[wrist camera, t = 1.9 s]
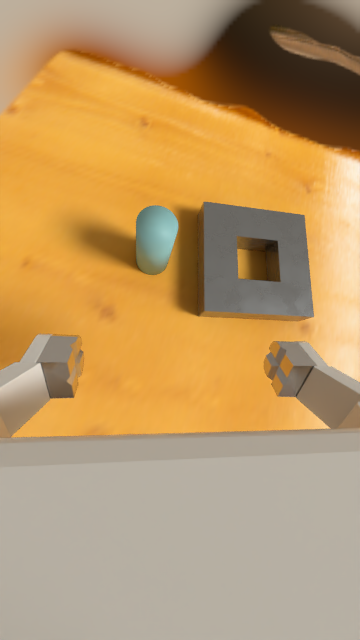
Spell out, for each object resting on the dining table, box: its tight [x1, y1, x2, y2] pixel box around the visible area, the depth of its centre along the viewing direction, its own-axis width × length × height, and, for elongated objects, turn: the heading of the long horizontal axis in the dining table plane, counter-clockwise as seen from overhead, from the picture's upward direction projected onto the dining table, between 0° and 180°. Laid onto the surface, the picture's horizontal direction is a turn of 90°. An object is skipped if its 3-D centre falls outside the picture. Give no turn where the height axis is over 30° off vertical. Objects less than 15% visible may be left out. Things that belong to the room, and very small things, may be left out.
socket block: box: [198, 202, 314, 321], centre depth 32 cm, size 14×14×3 cm
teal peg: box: [136, 206, 178, 275], centre depth 27 cm, size 4×4×8 cm
